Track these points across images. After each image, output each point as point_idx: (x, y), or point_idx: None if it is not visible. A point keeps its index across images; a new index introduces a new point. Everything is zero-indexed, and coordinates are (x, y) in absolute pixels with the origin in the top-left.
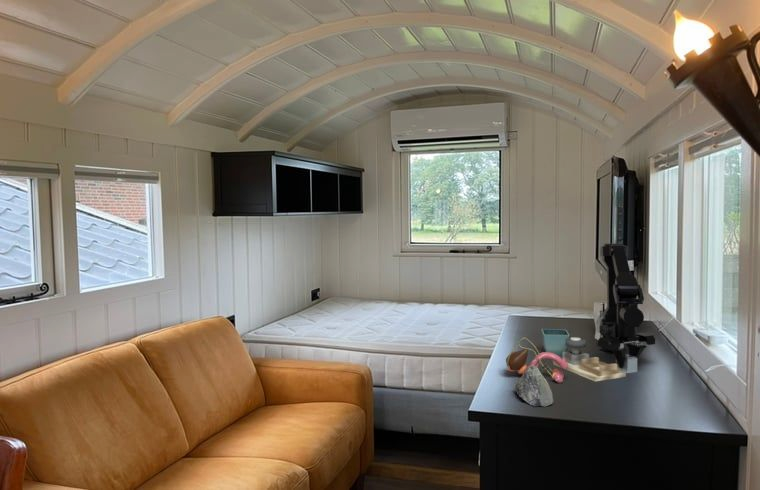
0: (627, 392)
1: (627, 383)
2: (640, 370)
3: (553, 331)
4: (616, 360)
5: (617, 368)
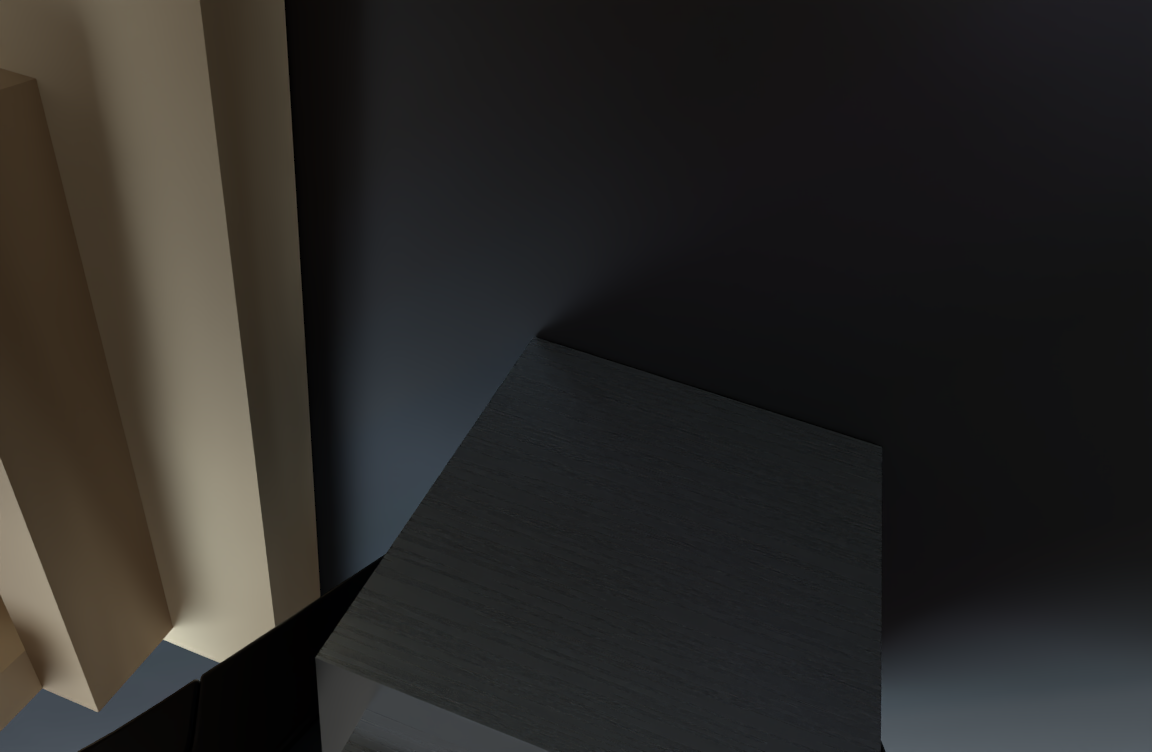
0: (9, 735)
1: (156, 694)
2: (908, 723)
3: None
4: (410, 536)
5: (51, 690)
